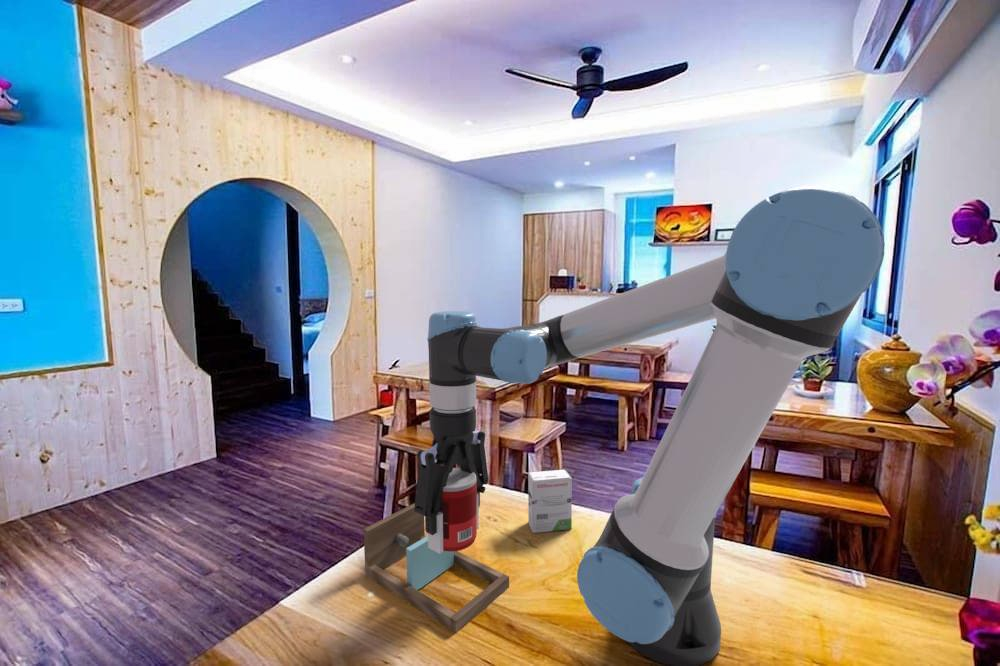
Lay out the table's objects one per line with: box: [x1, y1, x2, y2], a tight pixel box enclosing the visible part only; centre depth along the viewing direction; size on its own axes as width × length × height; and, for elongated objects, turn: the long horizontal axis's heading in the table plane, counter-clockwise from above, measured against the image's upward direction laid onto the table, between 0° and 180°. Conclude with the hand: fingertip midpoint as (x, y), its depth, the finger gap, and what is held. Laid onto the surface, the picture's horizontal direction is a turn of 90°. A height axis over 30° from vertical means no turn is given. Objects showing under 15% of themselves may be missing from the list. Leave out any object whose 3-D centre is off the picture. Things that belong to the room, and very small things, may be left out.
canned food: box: [431, 467, 478, 552], centre depth 80 cm, size 8×8×11 cm
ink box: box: [527, 469, 573, 534], centre depth 102 cm, size 9×5×12 cm, turn 99°
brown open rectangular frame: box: [363, 502, 510, 634], centre depth 84 cm, size 22×13×9 cm, turn 52°
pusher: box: [405, 535, 455, 591], centre depth 85 cm, size 3×10×8 cm, turn 142°
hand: (454, 537), depth 80 cm, fingers closed on canned food, 8 cm apart
